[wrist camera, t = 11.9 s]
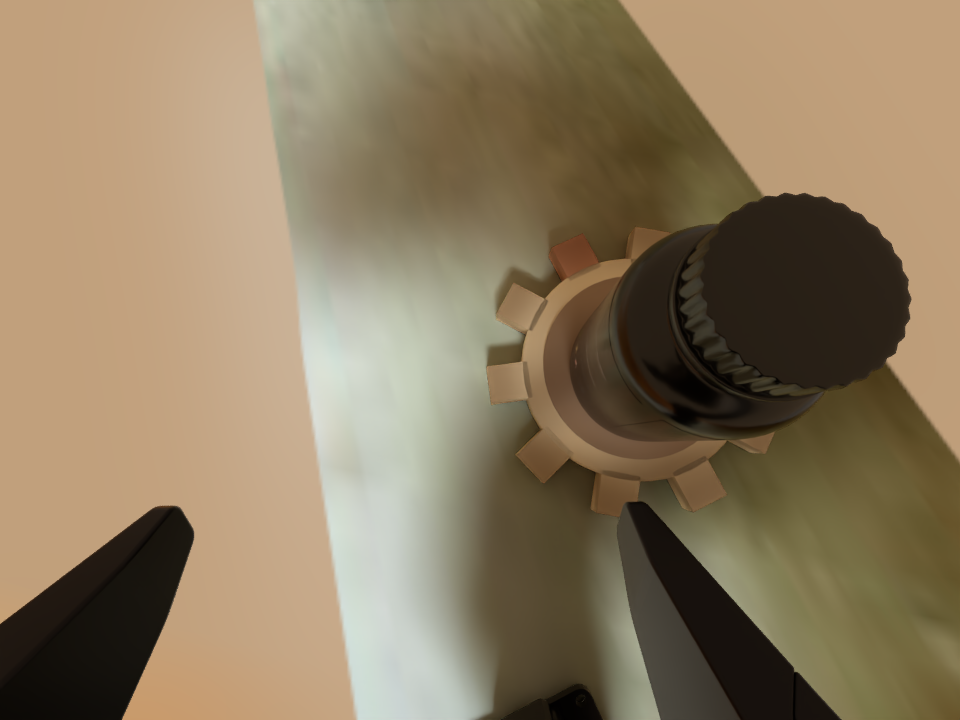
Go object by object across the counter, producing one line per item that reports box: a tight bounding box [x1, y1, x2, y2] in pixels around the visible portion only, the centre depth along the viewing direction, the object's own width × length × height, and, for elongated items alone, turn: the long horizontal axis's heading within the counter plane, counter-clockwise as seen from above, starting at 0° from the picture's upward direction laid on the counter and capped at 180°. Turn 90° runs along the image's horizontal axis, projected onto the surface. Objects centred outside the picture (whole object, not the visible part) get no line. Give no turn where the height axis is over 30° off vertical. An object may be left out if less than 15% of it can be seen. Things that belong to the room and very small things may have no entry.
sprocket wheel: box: [487, 227, 775, 517], centre depth 23 cm, size 14×14×1 cm
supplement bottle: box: [570, 193, 911, 442], centre depth 16 cm, size 7×7×12 cm
